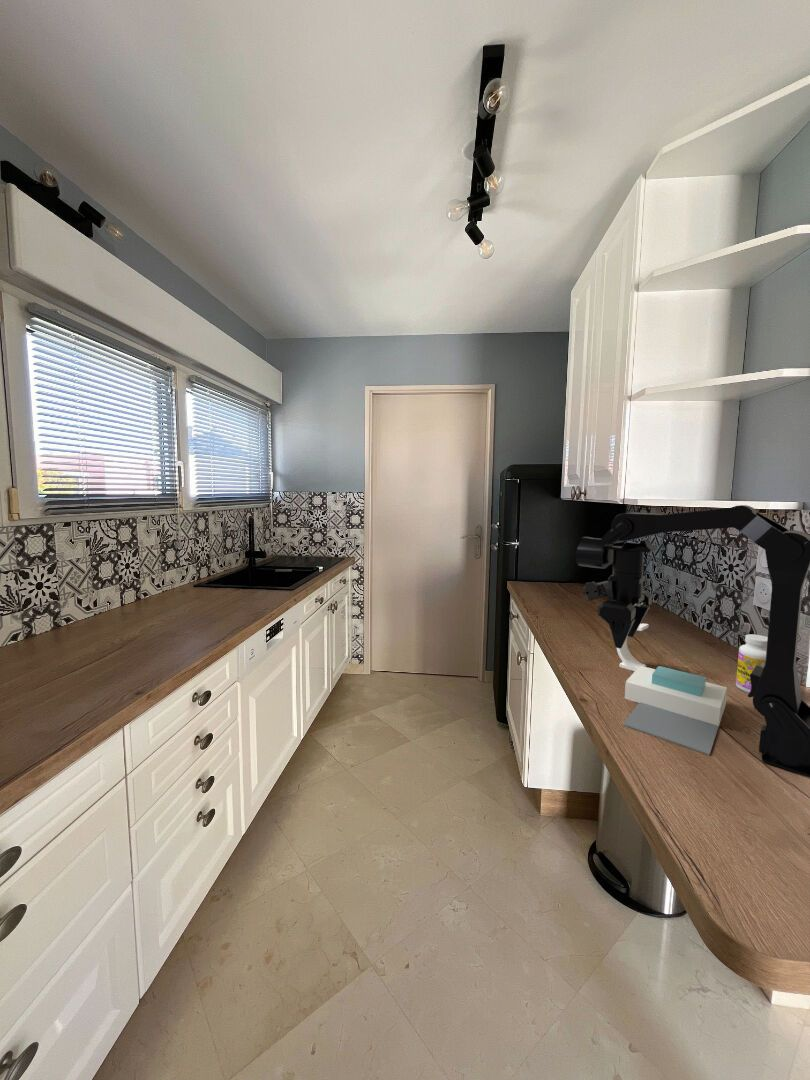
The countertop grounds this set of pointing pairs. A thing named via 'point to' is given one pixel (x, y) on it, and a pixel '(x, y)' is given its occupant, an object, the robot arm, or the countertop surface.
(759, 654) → the supplement bottle
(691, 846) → the countertop surface
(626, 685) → the tray
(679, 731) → the mat
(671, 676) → the teal rectangular block
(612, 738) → the countertop surface
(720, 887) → the countertop surface
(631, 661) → the headphone stand
